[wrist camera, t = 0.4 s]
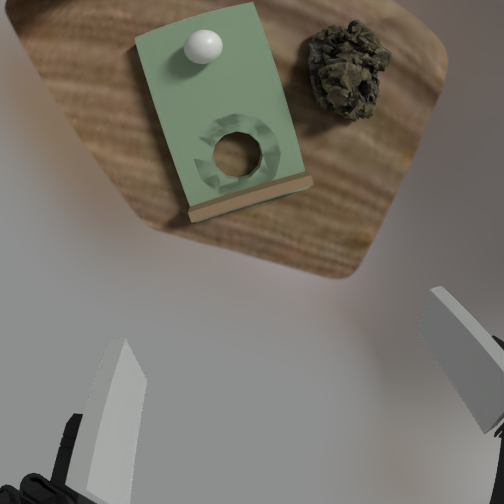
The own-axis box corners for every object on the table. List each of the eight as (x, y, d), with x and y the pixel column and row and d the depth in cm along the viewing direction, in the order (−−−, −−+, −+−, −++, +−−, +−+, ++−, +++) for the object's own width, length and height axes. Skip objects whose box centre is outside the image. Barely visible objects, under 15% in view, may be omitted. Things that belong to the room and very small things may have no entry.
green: (138, 42, 26) (127, 32, 22) (251, 7, 25) (255, -7, 21) (197, 217, 36) (194, 229, 32) (304, 184, 35) (315, 193, 31)
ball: (182, 42, 25) (177, 32, 21) (216, 31, 25) (216, 20, 21) (191, 71, 27) (187, 65, 23) (226, 61, 27) (227, 52, 23)
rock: (293, 125, 33) (374, 147, 30) (287, 61, 23) (392, 86, 21) (319, 65, 35) (385, 82, 33) (317, 10, 26) (397, 27, 23)
